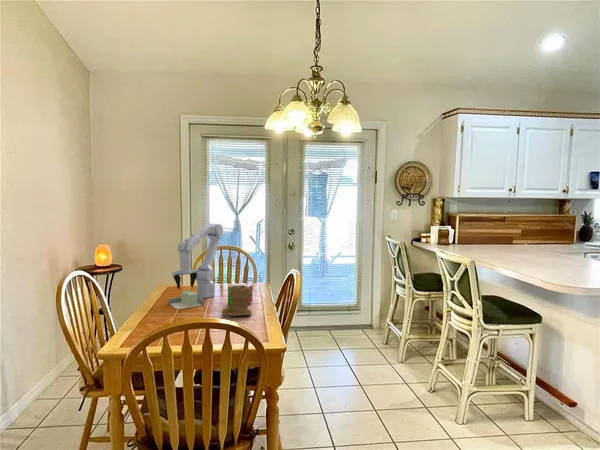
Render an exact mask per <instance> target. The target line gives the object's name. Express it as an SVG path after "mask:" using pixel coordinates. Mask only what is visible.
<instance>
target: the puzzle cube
mask: <svg viewBox="0 0 600 450" xmlns="http://www.w3.org/2000/svg"><path fill="white" fill-rule="evenodd" d="M234 285H235V286H236V285H239V286H248V287H250V298H249V301H248V305H250V304H252V303H253V285H251V284H245V283H239V282H238V283H235V284H233V285H229V286H228V287H227V295H228V296H227V305H228V304H229V305H230V306H231V300H230V288H231V286H234ZM251 302H252V303H251ZM249 303H250V304H249Z"/></svg>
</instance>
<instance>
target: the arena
mask: <svg viewBox="0 0 600 450" xmlns="http://www.w3.org/2000/svg"><path fill="white" fill-rule="evenodd" d="M204 299H205V298H200V297H198V296H197V305H193V306H188V305H186V304H183V303H181V296H177V297H171V298H168V305H169V306H171V307H172V308H173V309H175V310H182V309H183V310H184V309H189V308H194V307H200V306H204V305H205V300H204Z"/></svg>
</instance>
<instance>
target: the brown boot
mask: <svg viewBox="0 0 600 450" xmlns="http://www.w3.org/2000/svg"><path fill="white" fill-rule="evenodd" d="M233 285H234V286H232V285H230V286H231V288H230V300H231V305H230V306H228V307H227V308H226V307H225V308H223V309H222V310H221V317H241V316H250V315H252V314H253V312H252V310H251V309H250V308H249V307H248V305H249V304H248V301H249V298H250V287H248V286H239V285H236V286H235V284H233Z"/></svg>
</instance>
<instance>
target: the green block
mask: <svg viewBox="0 0 600 450" xmlns="http://www.w3.org/2000/svg"><path fill="white" fill-rule="evenodd" d="M180 295H181V296H180V297H181V303H183V304H186V305H188V306H193V305H197V292H194V291H191V290H184V291H181V293H180Z"/></svg>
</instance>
